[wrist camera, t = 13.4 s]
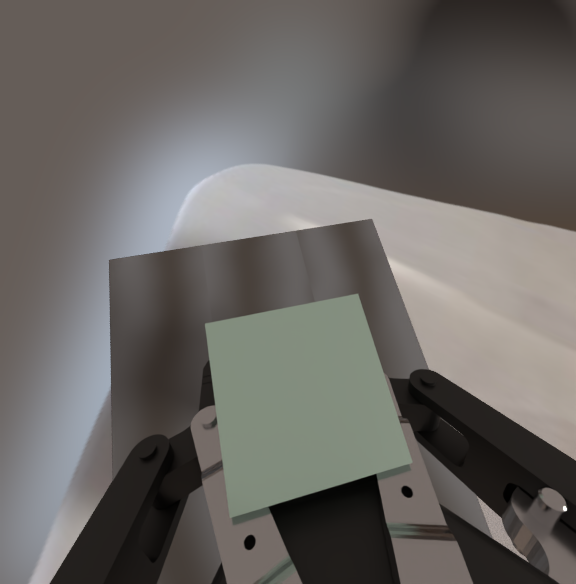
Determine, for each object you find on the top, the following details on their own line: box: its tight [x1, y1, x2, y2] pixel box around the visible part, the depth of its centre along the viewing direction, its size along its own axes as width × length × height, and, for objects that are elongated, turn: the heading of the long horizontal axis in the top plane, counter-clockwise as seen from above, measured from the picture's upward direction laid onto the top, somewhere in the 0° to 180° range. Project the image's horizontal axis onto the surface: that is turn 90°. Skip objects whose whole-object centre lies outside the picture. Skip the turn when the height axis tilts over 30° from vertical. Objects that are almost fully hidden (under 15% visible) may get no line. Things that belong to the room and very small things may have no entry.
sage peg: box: [205, 294, 413, 518], centre depth 12 cm, size 4×4×12 cm
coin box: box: [109, 219, 493, 584], centre depth 24 cm, size 20×22×16 cm
